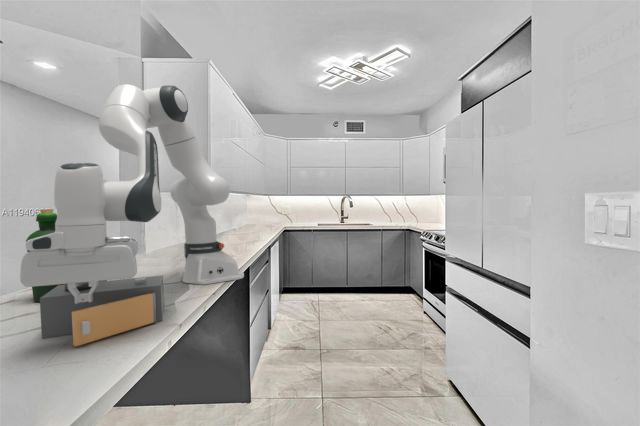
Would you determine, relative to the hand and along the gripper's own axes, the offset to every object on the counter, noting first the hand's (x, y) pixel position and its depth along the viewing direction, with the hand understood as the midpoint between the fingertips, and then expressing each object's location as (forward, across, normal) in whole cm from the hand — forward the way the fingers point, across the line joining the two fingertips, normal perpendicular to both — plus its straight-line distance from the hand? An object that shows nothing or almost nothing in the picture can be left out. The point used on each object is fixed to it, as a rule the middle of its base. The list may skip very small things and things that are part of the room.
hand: (84, 302), depth 71 cm
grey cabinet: (+8, -3, -12) cm, 15 cm away
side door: (+8, -6, 0) cm, 10 cm away
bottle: (+8, +19, -43) cm, 47 cm away
